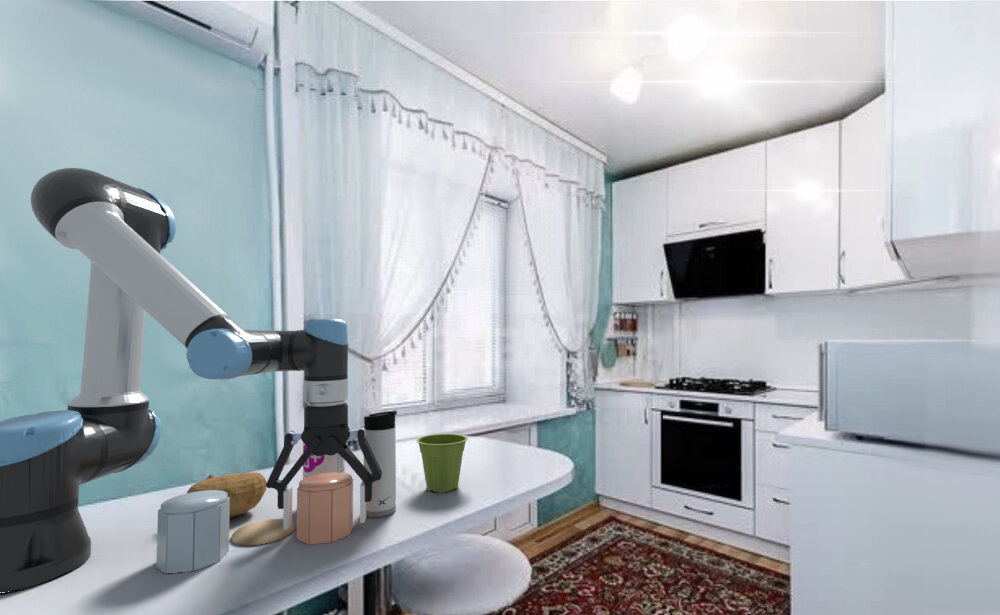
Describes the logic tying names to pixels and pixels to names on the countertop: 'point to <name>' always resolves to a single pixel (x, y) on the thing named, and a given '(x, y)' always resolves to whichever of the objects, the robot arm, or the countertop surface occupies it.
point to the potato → (236, 490)
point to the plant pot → (442, 460)
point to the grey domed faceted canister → (192, 531)
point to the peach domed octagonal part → (324, 507)
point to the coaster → (261, 532)
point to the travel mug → (382, 462)
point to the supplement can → (322, 464)
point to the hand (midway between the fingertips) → (325, 523)
